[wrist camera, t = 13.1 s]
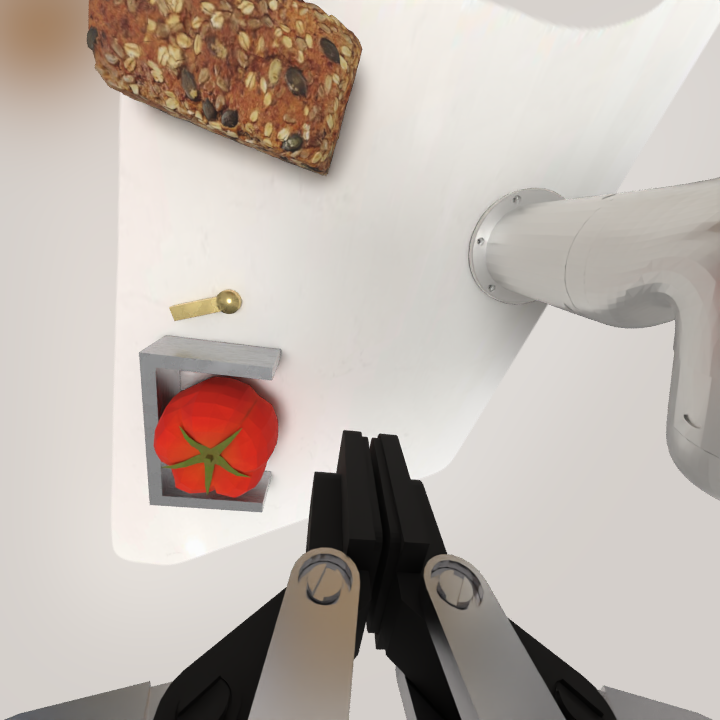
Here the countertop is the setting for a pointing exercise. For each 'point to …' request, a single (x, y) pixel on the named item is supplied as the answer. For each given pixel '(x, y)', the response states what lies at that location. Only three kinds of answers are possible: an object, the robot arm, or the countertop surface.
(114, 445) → the countertop surface
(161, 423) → the tomato
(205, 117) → the bread
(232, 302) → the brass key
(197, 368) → the grey u-shaped bracket
